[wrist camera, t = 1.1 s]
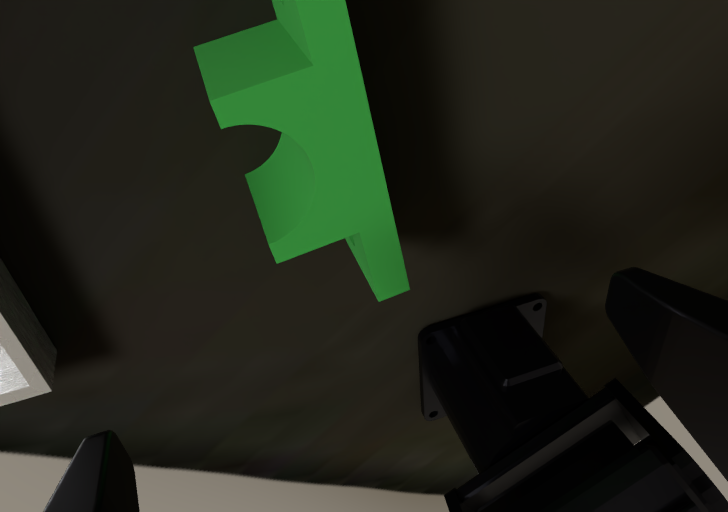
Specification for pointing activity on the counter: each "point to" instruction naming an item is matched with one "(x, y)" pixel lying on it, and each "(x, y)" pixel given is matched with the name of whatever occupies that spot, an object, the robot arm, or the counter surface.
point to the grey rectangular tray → (22, 346)
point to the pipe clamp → (309, 135)
